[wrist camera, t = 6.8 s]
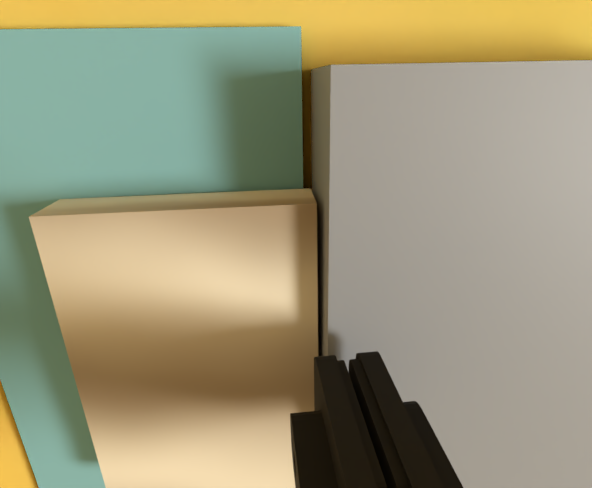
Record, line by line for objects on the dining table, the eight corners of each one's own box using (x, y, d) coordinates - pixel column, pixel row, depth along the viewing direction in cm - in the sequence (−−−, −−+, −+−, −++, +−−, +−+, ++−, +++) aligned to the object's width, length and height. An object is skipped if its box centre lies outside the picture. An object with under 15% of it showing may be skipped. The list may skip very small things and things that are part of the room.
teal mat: (-111, 32, 10) (-126, 30, 9) (299, 28, 11) (301, 26, 10) (61, 529, 16) (57, 539, 16) (306, 502, 17) (307, 511, 17)
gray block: (310, 69, 11) (331, 64, 8) (646, 63, 12) (765, 57, 9) (313, 484, 17) (325, 562, 14) (538, 460, 18) (590, 529, 15)
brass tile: (59, 199, 11) (28, 216, 10) (310, 188, 12) (316, 203, 10) (125, 461, 15) (109, 503, 14) (314, 447, 15) (319, 485, 14)
